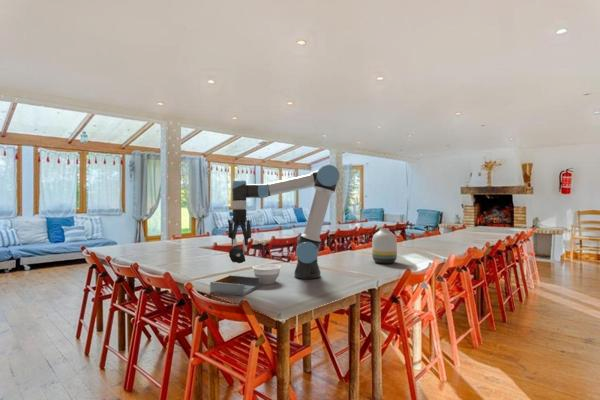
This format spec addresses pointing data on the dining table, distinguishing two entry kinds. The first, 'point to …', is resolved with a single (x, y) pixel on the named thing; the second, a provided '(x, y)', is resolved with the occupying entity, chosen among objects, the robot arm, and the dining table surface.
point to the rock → (237, 254)
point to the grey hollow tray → (235, 285)
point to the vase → (384, 246)
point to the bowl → (267, 272)
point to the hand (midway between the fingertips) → (239, 251)
